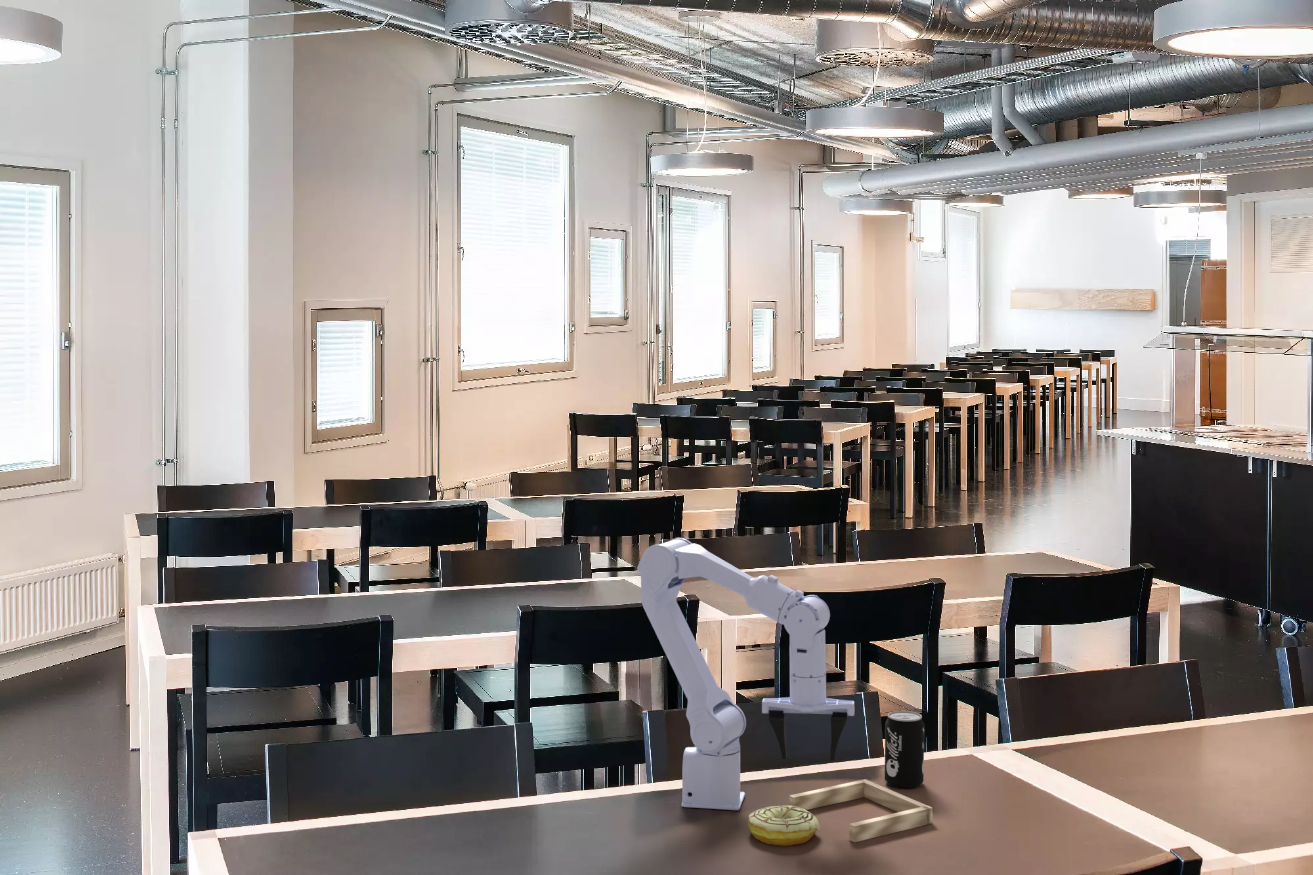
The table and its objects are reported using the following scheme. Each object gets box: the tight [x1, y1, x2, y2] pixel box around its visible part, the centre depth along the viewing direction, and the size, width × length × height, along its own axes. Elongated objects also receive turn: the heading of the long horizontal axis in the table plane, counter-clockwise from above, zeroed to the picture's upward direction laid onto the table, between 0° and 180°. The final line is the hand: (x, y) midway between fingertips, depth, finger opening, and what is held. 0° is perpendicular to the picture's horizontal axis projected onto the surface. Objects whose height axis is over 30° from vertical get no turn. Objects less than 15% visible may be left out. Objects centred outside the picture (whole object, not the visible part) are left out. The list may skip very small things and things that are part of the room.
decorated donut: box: [747, 804, 820, 847], centre depth 210 cm, size 10×11×4 cm
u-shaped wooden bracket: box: [788, 778, 934, 843], centre depth 218 cm, size 16×16×2 cm
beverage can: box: [884, 710, 925, 790], centre depth 234 cm, size 7×7×12 cm
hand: (808, 757), depth 218 cm, fingers open, 7 cm apart
